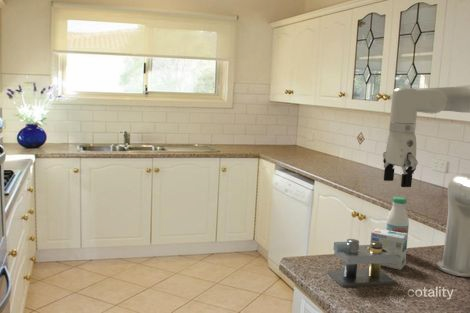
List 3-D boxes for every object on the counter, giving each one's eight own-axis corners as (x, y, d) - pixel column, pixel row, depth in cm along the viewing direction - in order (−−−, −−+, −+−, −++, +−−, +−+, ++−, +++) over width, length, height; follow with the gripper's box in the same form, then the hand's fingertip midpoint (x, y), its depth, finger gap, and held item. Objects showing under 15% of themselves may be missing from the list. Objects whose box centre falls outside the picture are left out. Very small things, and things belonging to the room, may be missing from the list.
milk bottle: (378, 249, 174) (383, 195, 172) (396, 248, 177) (401, 195, 174) (392, 257, 167) (398, 200, 165) (410, 255, 170) (416, 200, 167)
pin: (376, 272, 149) (378, 241, 148) (382, 276, 146) (384, 245, 144) (366, 273, 148) (368, 241, 147) (372, 277, 145) (374, 245, 144)
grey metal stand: (377, 271, 153) (380, 234, 151) (394, 284, 143) (398, 245, 142) (325, 273, 149) (328, 236, 147) (340, 287, 139) (343, 246, 138)
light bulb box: (405, 264, 161) (408, 233, 159) (401, 270, 155) (404, 238, 153) (373, 257, 166) (376, 227, 165) (367, 263, 160) (370, 231, 159)
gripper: (430, 131, 140) (424, 189, 143) (397, 126, 157) (392, 178, 159) (407, 131, 139) (401, 189, 141) (376, 125, 155) (371, 178, 158)
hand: (396, 183), depth 150 cm, fingers open, 9 cm apart
